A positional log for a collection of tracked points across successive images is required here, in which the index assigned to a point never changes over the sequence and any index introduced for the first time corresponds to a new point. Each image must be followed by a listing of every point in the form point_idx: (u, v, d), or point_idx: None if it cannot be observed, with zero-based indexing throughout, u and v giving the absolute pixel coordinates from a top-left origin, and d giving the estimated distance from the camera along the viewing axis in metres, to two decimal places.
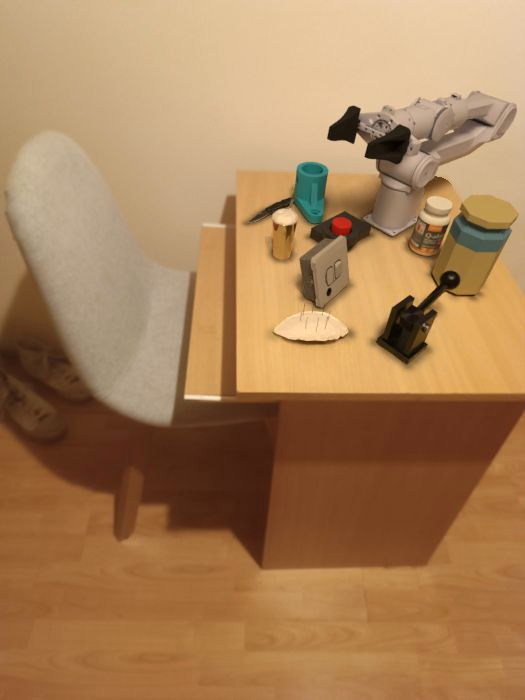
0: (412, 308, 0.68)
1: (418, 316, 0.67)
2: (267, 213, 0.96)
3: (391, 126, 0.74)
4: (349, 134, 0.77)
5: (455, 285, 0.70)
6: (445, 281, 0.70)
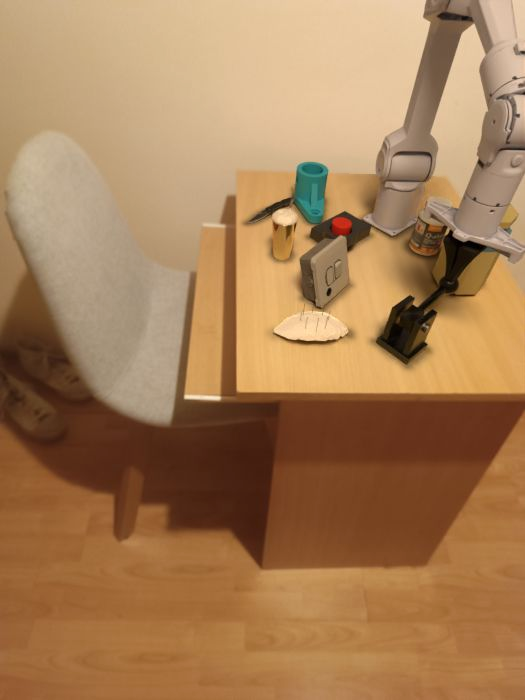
0: (412, 308, 0.68)
1: (419, 316, 0.67)
2: (267, 213, 0.96)
3: None
4: None
5: (454, 289, 0.70)
6: (444, 284, 0.70)
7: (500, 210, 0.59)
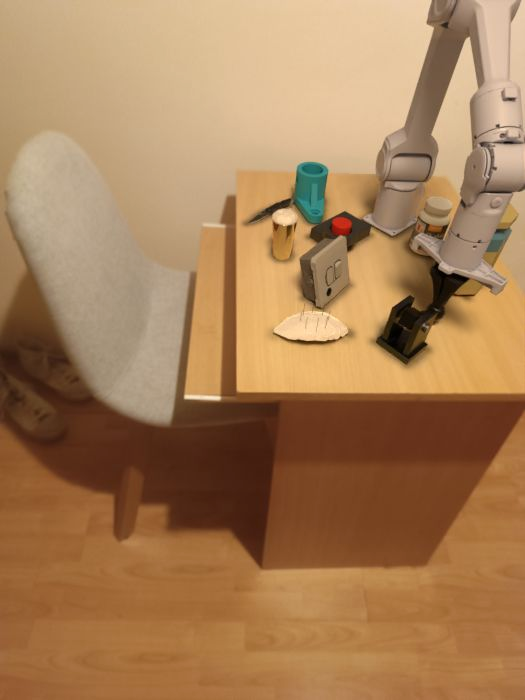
0: (414, 309, 0.69)
1: (421, 314, 0.68)
2: (267, 214, 0.96)
3: None
4: None
5: (442, 313, 0.74)
6: (435, 307, 0.74)
7: (482, 246, 0.63)
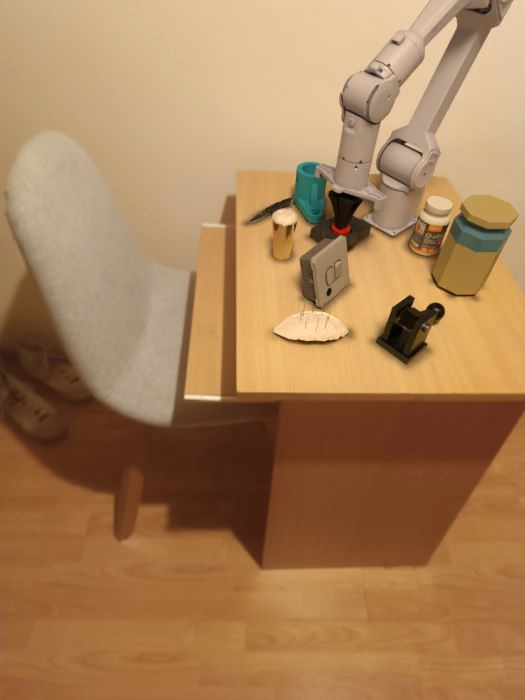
0: (414, 309, 0.69)
1: (421, 314, 0.68)
2: (267, 213, 0.96)
3: None
4: None
5: (442, 314, 0.74)
6: (434, 307, 0.74)
7: (362, 166, 0.75)
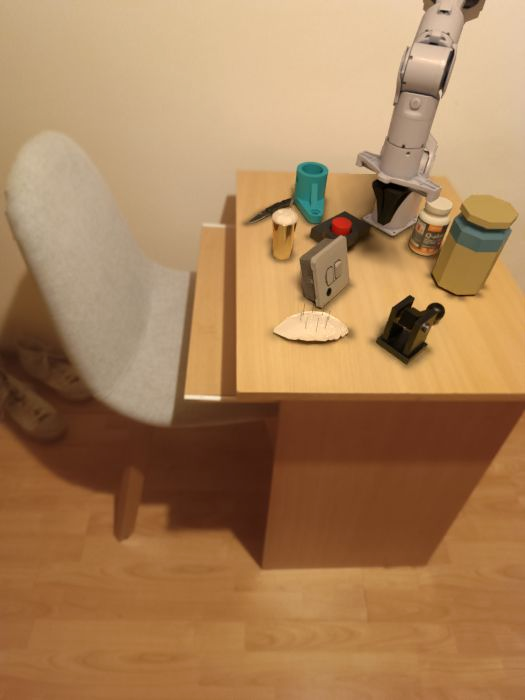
0: (414, 309, 0.69)
1: (421, 314, 0.68)
2: (267, 213, 0.96)
3: None
4: None
5: (442, 314, 0.74)
6: (434, 307, 0.74)
7: (415, 152, 0.66)
